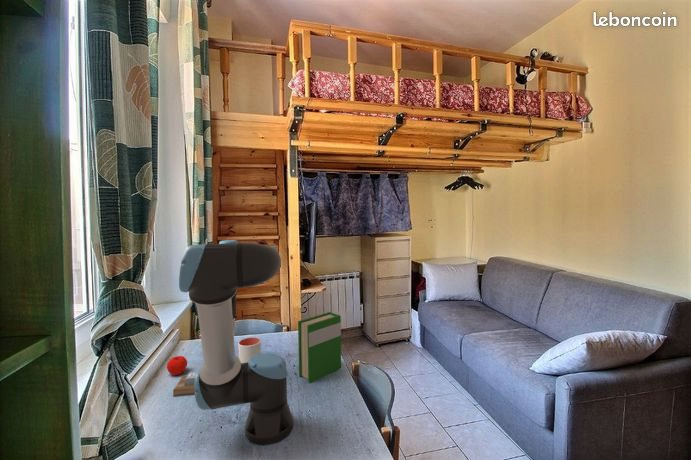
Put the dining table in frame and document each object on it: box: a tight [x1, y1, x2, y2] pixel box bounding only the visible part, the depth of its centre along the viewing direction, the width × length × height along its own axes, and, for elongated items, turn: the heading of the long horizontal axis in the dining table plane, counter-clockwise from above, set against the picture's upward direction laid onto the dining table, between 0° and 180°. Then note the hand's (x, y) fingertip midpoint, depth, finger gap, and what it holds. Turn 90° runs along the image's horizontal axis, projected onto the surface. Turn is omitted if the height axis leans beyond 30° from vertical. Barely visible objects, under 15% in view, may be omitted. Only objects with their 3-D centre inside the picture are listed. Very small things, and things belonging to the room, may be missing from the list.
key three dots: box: [185, 371, 197, 386], centre depth 125 cm, size 5×5×4 cm
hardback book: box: [297, 311, 342, 384], centre depth 136 cm, size 18×7×24 cm, turn 133°
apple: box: [166, 355, 188, 376], centre depth 137 cm, size 8×8×7 cm
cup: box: [237, 337, 262, 363], centre depth 146 cm, size 10×10×10 cm
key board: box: [172, 374, 195, 397], centre depth 127 cm, size 11×28×2 cm, turn 99°
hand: (231, 334), depth 128 cm, fingers closed
